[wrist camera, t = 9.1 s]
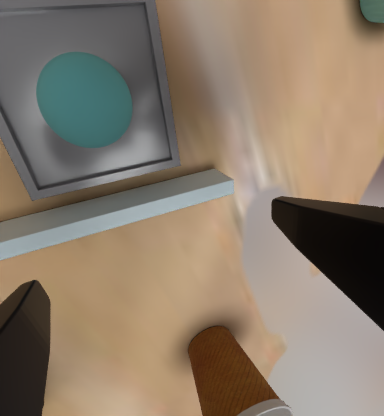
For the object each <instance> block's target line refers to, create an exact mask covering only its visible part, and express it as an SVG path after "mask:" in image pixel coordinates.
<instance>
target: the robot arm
mask: <svg viewBox="0 0 384 416" xmlns="http://www.w3.org/2000/svg"><path fill="white" fill-rule="evenodd" d="M271 213H272V220H273V222H274V223H275V224H276V225H277V226H278V228H279V229H280V230H281V231H282V232H283V233H284V235H285V236H286V237H287V238H288V239H289V240H290V242H291V243H292V244H293V245H294V246H295V247H296V248H297V249H298V250H299V251H300V252H301V253H302V254H303V255H304V256H305V257H306V258H307V259H308V260H309V261H310V262H311V263H313V264H314V265H315V266H316V267H317V268H318V269H319V270H320V271H321V272H322V273H323V274H324V275H325V276H326V277H327V278H328V279H329V280H331V281H332V282H333V283H334V284H335V285H336V286H337V287H338V288H339V289H340V290H341V291H343V293H344V294H345V295H346V296H347V297H348V298H350V299H351V300H352V301H353V302H354V303H355V304H356V305H357V306H358V307H359V308H360V309H361V310H362V311H363V312H364V313H365V314H366V315H367V316H369V317H370V318H371V319H372V320H373V321H374V322H375V323H376V324H377V325H378V326H379V327H380V328H381V329H382V330H383V331H384V207H381V208H380V207H376V206H367V205H358V204H349V203H339V202H330V201H321V200H312V199H302V198H293V197H284V196H281V197H278V198H275V199H273V200H272V212H271ZM49 354H50V299H49V297H48V295H47V294H46V292H45V290H44V289H43V287H42V286H41V284H40V282H39V281H37V280H32V281H30V282H27V283H24V284H22V285H20V286H19V287H18V288H17V289H16V290H15V291H14V292H13V293H12V294H11V295H10V296H9V297H8V298H7V299H6V300H4V301H3V302H2V303H1V304H0V416H42V409H43V406H44V393H45V385H46V378H47V370H48V362H49Z"/></svg>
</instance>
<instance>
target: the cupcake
mask: <svg viewBox="0 0 384 416" xmlns="http://www.w3.org/2000/svg"><path fill="white" fill-rule="evenodd" d="M360 7H361V11H362V13H363V15H364V17H365V18H366V19H367V20H368V21H370V22H378V23H384V0H360Z"/></svg>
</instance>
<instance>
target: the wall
mask: <svg viewBox="0 0 384 416" xmlns="http://www.w3.org/2000/svg"><path fill="white" fill-rule="evenodd" d="M230 194H234V181H233V179H231V178H230V177H228V176H226V175H225V174H223V173H221V172H220V171H218V170H216V169H215V168H214V169H210V170H206V171H202V172H198V173H194V174H190V175H186V176H182V177H178V178H174V179H170V180H166V181H162V182H158V183H154V184H150V185H146V186H142V187H138V188H134V189H130V190H126V191H122V192H118V193H114V194H110V195H106V196H102V197H98V198H94V199H90V200H86V201H82V202H78V203H74V204H70V205H66V206H62V207H58V208H54V209H51V210H47V211H43V212H39V213H35V214H31V215H27V216H23V217H19V218H15V219H11V220H7V221H3V222H0V260H3V259H7V258H10V257H14V256H17V255H21V254H24V253H28V252H31V251H35V250H38V249H42V248H45V247H49V246H52V245H56V244H59V243H63V242H66V241H70V240H73V239H77V238H80V237H84V236H87V235H91V234H94V233H98V232H101V231H105V230H108V229H112V228H115V227H119V226H122V225H126V224H129V223H133V222H136V221H139V220H143V219H146V218H150V217H153V216H157V215H160V214H164V213H167V212H171V211H174V210H178V209H181V208H185V207H188V206H192V205H195V204H199V203H202V202H206V201H209V200H213V199H216V198H220V197H223V196H227V195H230Z"/></svg>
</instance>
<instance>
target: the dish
mask: <svg viewBox="0 0 384 416" xmlns="http://www.w3.org/2000/svg"><path fill="white" fill-rule="evenodd" d="M68 52H85V53H89V54H93V55H95V56H98V57H100V58H102V59H103V60H105V61H107V62H108V63H109V64H111V65H112V66H113V67H114V68H115V69H116V70H117V71H118V72H119V73H120V75H121V76H122V77H123V79H124V80H125V82H126V84H127V86H128V88H129V91H130V94H131V98H132V107H133V110H132V118H131V121H130V124H129V126H128V128H127V130H126V132H125V133H124V134H123V135H122V136H121V138H119V139H118V140H117V141H115V142H114V143H112V144H110V145H108V146H104V147H100V148H85V147H80V146H77V145H74V144H72V143H69V142H67V141H66V140H64V139H63V138H61V137H60V136H58V135H57V134H56V133H55V132H54V131H53V130H52V129H51V128H50V127H49V125H48V124H47V123H46V121H45V120H44V118H43V116H42V114H41V112H40V110H39V107H38V103H37V98H36V86H37V81H38V77H39V75H40V73H41V71H42V69H43V68H44V66H45V65H46V64H47V63H48V62H49V61H50V60H52V59H53V58H54V57H56V56H58V55H61V54H64V53H68ZM0 138H1V140H2V142H3V144H4V146H5V148H6V150H7V152H8V154H9V156H10V158H11V160H12V162H13V164H14V166H15V168H16V170H17V172H18V173H19V175H20V177H21V179H22V181H23V183H24V185H25V187H26V189H27V191H28V193H29V195H30V197H31V199H32V201H34V200H38V199H42V198H46V197H50V196H55V195H59V194H63V193H67V192H71V191H76V190H80V189H84V188H88V187H93V186H97V185H101V184H105V183H109V182H114V181H118V180H122V179H126V178H131V177H135V176H139V175H143V174H147V173H152V172H156V171H160V170H164V169H168V168H173V167H177V166H181V164H180V157H179V151H178V145H177V138H176V132H175V125H174V119H173V112H172V106H171V99H170V93H169V86H168V80H167V74H166V67H165V61H164V54H163V48H162V41H161V35H160V28H159V22H158V15H157V9H156V3H155V0H0Z"/></svg>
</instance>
